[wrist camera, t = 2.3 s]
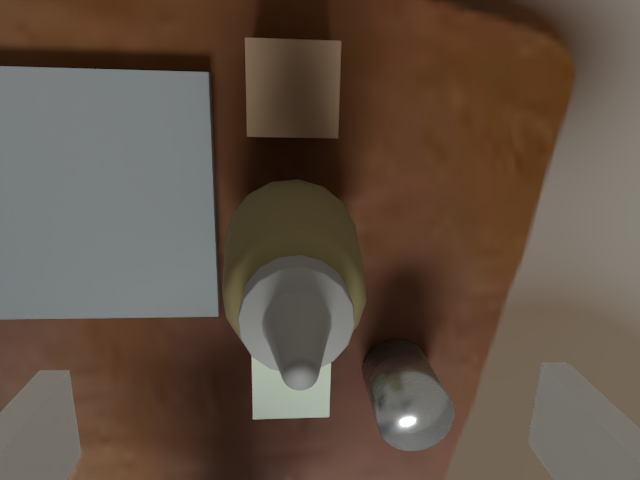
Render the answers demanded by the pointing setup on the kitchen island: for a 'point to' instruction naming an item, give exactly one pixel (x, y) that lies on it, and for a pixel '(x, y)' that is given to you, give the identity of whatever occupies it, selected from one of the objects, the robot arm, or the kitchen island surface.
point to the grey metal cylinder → (406, 396)
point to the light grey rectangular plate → (107, 194)
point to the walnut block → (292, 87)
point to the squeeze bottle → (293, 278)
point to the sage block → (288, 395)
